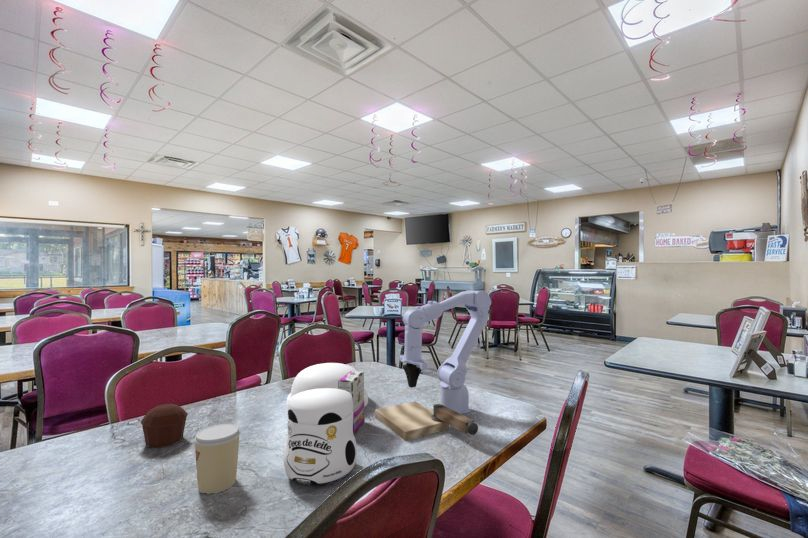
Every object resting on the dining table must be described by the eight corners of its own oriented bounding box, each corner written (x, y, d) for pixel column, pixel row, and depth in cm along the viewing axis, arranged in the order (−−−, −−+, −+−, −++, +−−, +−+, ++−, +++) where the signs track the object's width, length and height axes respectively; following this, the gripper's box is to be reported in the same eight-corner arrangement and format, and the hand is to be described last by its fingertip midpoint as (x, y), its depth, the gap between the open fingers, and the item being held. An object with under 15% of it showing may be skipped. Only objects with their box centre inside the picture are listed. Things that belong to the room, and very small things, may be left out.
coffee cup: (205, 473, 87) (206, 423, 87) (245, 472, 88) (246, 422, 88) (185, 497, 78) (186, 441, 78) (230, 495, 79) (230, 439, 79)
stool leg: (431, 415, 115) (431, 405, 115) (439, 413, 116) (439, 403, 116) (469, 436, 100) (469, 424, 100) (478, 433, 101) (478, 422, 101)
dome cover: (385, 398, 141) (385, 362, 142) (336, 426, 115) (336, 382, 115) (321, 386, 156) (321, 353, 157) (265, 409, 130) (265, 369, 130)
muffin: (196, 435, 108) (197, 402, 108) (161, 453, 98) (161, 415, 98) (167, 430, 112) (167, 397, 112) (130, 446, 101) (130, 410, 102)
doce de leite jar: (287, 501, 77) (287, 415, 77) (280, 462, 92) (280, 391, 93) (365, 482, 84) (365, 404, 84) (346, 449, 99) (346, 383, 100)
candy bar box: (350, 420, 119) (350, 370, 120) (364, 421, 118) (364, 371, 119) (337, 435, 108) (337, 379, 109) (353, 436, 107) (353, 380, 108)
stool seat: (415, 408, 130) (415, 399, 130) (450, 428, 113) (450, 418, 113) (375, 417, 122) (375, 407, 122) (405, 440, 105) (405, 429, 105)
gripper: (392, 343, 126) (391, 382, 126) (414, 350, 113) (413, 394, 113) (409, 341, 129) (409, 380, 129) (432, 349, 117) (432, 391, 116)
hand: (412, 386), depth 121 cm, fingers closed
